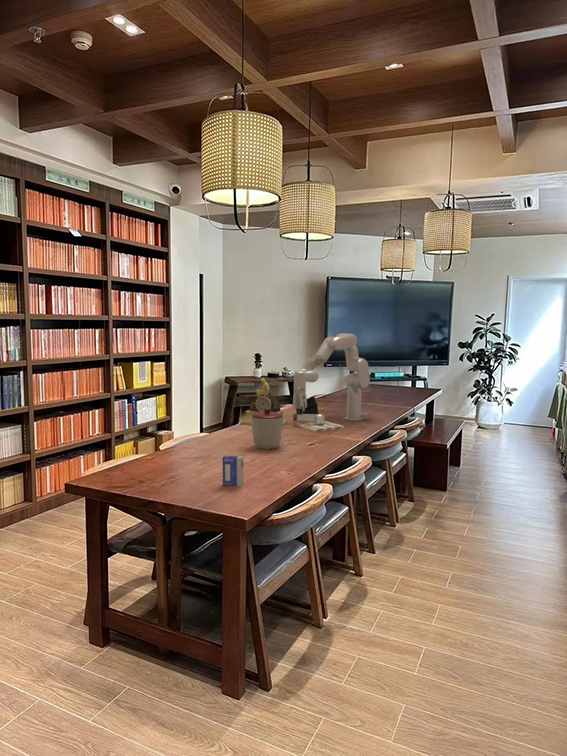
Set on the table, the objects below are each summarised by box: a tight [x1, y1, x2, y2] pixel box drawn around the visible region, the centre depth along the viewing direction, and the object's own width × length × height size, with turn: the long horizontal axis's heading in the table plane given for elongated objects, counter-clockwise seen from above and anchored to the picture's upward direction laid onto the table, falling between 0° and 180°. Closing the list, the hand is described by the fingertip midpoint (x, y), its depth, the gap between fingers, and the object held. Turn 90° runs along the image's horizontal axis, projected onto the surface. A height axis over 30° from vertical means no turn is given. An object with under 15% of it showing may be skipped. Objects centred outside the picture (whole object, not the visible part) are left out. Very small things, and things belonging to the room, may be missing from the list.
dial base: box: [294, 420, 345, 433], centre depth 328 cm, size 22×22×3 cm
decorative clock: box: [239, 377, 289, 428], centre depth 334 cm, size 28×13×30 cm, turn 74°
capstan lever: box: [292, 413, 325, 425], centre depth 328 cm, size 19×6×6 cm, turn 86°
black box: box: [302, 395, 320, 414], centre depth 361 cm, size 4×13×15 cm, turn 74°
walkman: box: [222, 455, 244, 488], centre depth 208 cm, size 8×3×12 cm, turn 81°
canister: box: [250, 408, 285, 450], centre depth 273 cm, size 18×18×21 cm
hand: (299, 418), depth 332 cm, fingers closed
